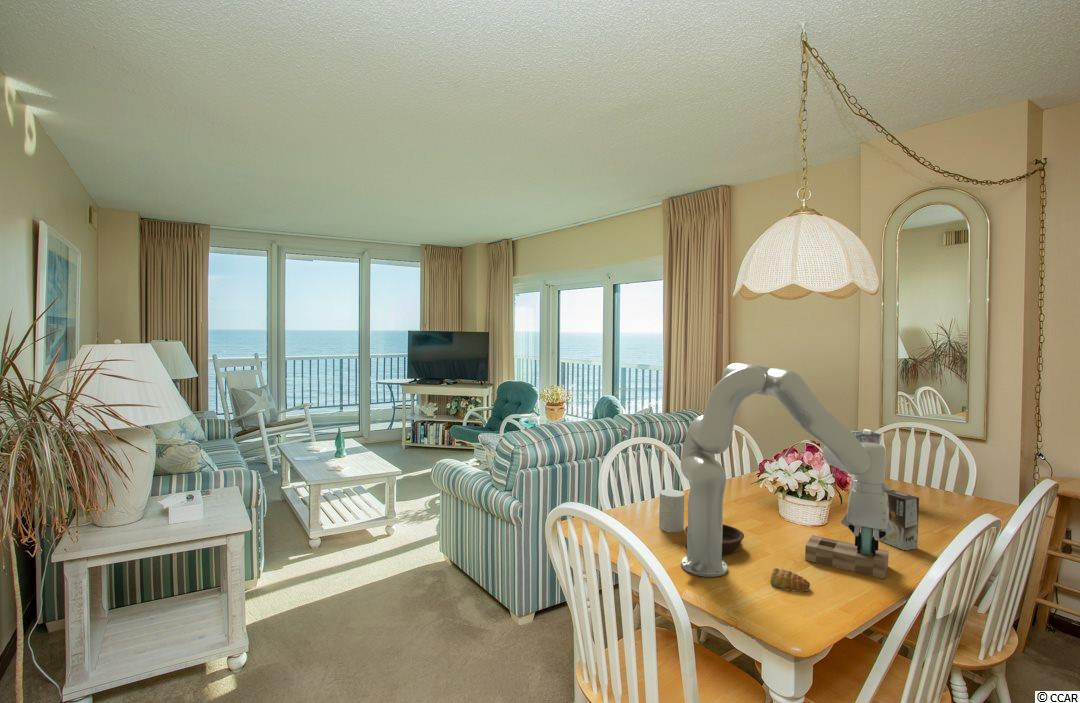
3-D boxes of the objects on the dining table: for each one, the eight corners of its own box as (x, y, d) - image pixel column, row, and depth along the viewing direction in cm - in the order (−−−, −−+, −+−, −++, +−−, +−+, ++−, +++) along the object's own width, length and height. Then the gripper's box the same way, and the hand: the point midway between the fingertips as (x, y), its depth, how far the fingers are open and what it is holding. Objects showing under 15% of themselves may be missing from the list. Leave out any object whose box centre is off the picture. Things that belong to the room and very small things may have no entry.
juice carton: (842, 491, 233) (844, 427, 231) (864, 490, 235) (866, 426, 233) (857, 497, 224) (860, 431, 223) (880, 496, 226) (883, 430, 225)
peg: (871, 562, 157) (872, 527, 156) (859, 559, 159) (860, 525, 158) (872, 558, 159) (874, 524, 159) (860, 556, 161) (861, 522, 160)
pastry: (811, 586, 148) (812, 572, 148) (807, 596, 142) (807, 582, 142) (774, 577, 153) (774, 563, 153) (768, 586, 148) (768, 572, 148)
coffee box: (918, 548, 173) (921, 497, 172) (904, 551, 171) (906, 499, 170) (891, 537, 182) (892, 489, 181) (876, 540, 180) (878, 491, 179)
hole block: (884, 579, 152) (885, 562, 152) (805, 560, 164) (805, 545, 164) (888, 566, 160) (888, 551, 160) (811, 549, 172) (812, 535, 172)
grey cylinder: (654, 525, 191) (654, 491, 191) (672, 522, 195) (673, 488, 194) (669, 533, 184) (670, 497, 183) (688, 529, 188) (689, 494, 187)
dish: (760, 549, 172) (761, 533, 172) (712, 565, 160) (712, 548, 160) (715, 531, 187) (715, 516, 187) (667, 545, 175) (668, 529, 175)
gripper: (903, 489, 156) (901, 553, 157) (838, 479, 166) (836, 539, 167) (902, 495, 150) (899, 562, 151) (834, 484, 160) (832, 547, 161)
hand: (866, 550), depth 159 cm, fingers closed on peg, 3 cm apart
